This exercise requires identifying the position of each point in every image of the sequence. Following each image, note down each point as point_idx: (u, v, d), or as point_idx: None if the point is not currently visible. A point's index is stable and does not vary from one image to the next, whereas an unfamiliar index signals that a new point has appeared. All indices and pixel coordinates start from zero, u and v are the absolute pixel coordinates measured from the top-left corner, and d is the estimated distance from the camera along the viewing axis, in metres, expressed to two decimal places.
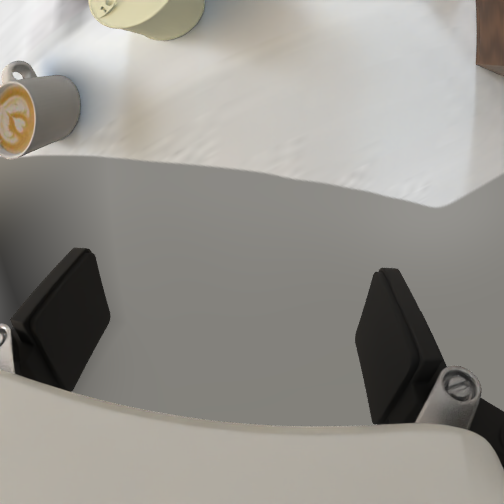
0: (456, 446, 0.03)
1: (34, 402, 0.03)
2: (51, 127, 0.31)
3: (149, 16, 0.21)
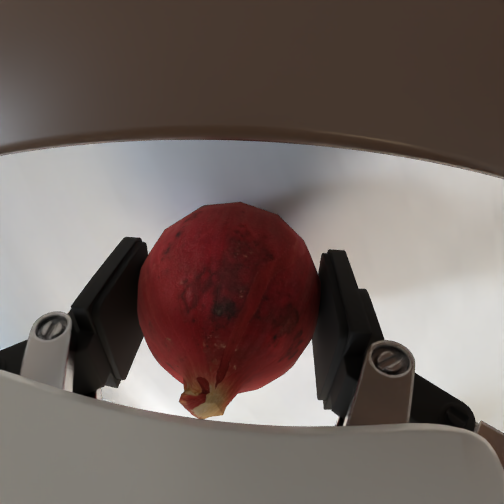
0: (456, 446, 0.03)
1: (34, 402, 0.03)
2: None
3: None
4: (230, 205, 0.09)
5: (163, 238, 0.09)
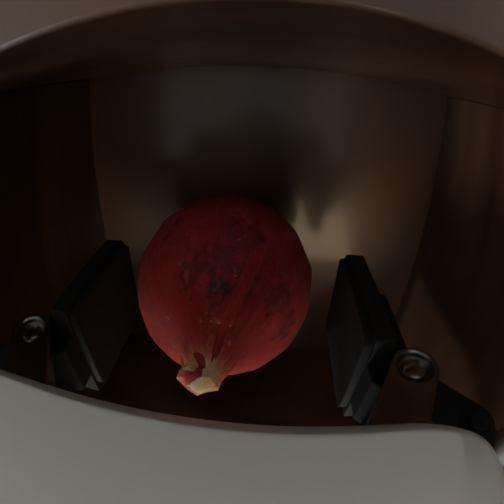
0: (456, 446, 0.03)
1: (34, 402, 0.03)
2: None
3: None
4: (225, 196, 0.10)
5: (163, 226, 0.09)
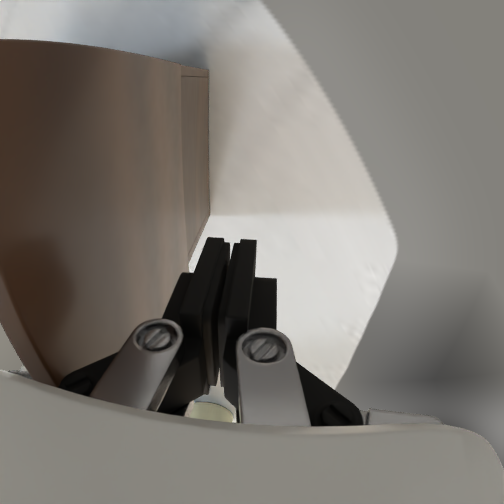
0: (456, 446, 0.03)
1: (34, 402, 0.03)
2: None
3: None
4: None
5: None
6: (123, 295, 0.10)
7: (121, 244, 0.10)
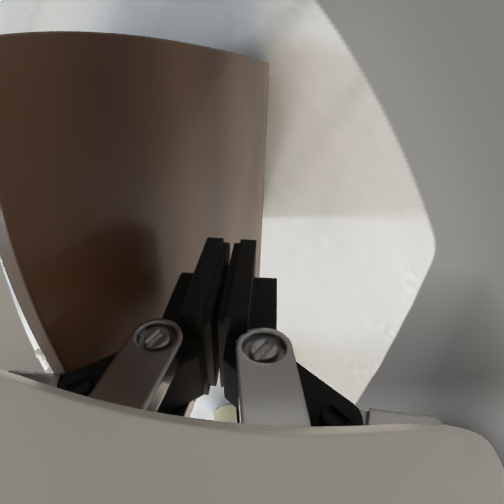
0: (456, 446, 0.03)
1: (34, 402, 0.03)
2: None
3: None
4: None
5: None
6: (168, 293, 0.11)
7: (172, 242, 0.10)
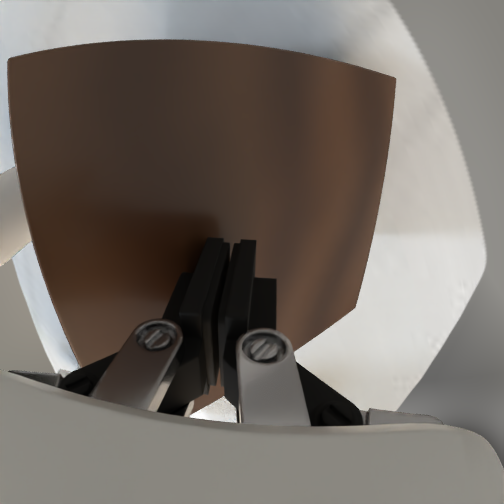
0: (456, 446, 0.03)
1: (34, 402, 0.03)
2: None
3: None
4: None
5: None
6: None
7: None
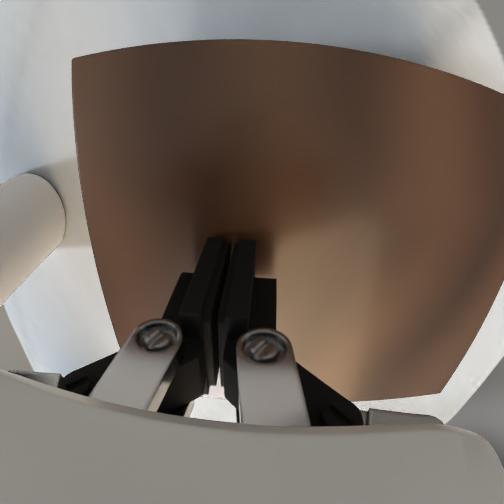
0: (456, 446, 0.03)
1: (34, 402, 0.03)
2: None
3: None
4: None
5: None
6: None
7: (235, 241, 0.11)
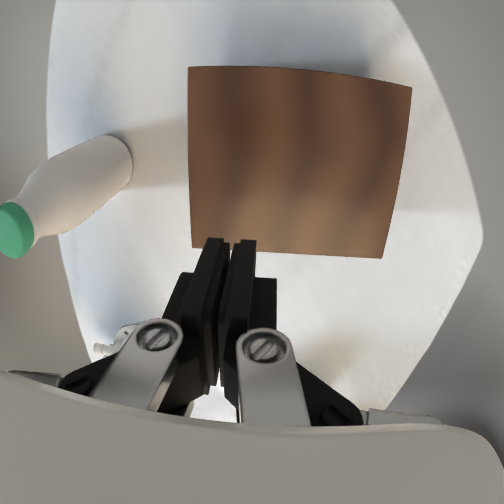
0: (456, 446, 0.03)
1: (34, 402, 0.03)
2: None
3: None
4: None
5: None
6: (248, 167, 0.25)
7: (258, 148, 0.24)
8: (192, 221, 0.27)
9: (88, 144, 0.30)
